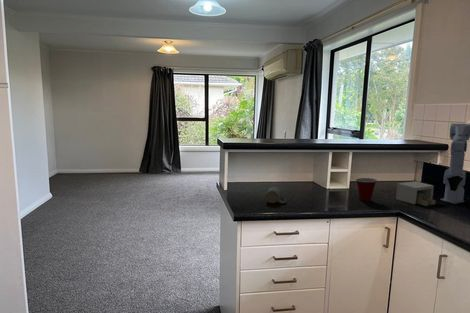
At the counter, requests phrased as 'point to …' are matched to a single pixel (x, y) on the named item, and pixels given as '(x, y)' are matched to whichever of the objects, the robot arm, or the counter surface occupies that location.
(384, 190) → the counter surface
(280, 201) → the ceramic mug
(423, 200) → the beige bumpy block
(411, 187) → the grey rectangular box
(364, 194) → the plastic cup
